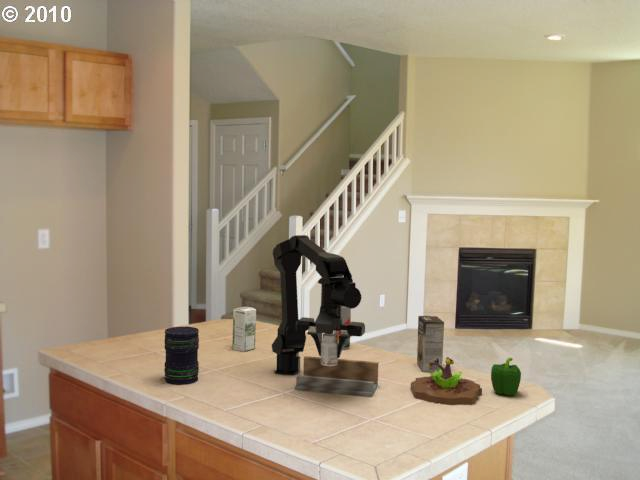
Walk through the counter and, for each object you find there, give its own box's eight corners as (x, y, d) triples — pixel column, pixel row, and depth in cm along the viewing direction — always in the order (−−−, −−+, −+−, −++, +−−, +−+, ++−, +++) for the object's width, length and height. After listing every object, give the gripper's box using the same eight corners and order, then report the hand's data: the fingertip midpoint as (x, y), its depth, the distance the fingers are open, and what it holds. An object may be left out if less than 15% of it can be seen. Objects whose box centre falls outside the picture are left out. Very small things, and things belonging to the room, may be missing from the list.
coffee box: (416, 364, 224) (417, 315, 222) (435, 364, 224) (437, 315, 223) (422, 372, 215) (424, 321, 213) (442, 372, 215) (444, 321, 214)
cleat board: (294, 389, 194) (295, 365, 193) (304, 379, 204) (305, 356, 204) (371, 397, 189) (372, 372, 188) (377, 385, 199) (378, 362, 199)
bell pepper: (504, 399, 189) (506, 364, 188) (484, 391, 197) (486, 356, 196) (527, 395, 193) (529, 361, 192) (506, 387, 200) (508, 354, 200)
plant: (407, 402, 186) (408, 362, 185) (412, 381, 205) (413, 345, 204) (483, 408, 182) (485, 367, 181) (480, 387, 201) (482, 349, 200)
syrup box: (243, 346, 242) (243, 306, 241) (255, 349, 239) (256, 308, 237) (232, 349, 237) (232, 308, 236) (244, 352, 234) (245, 310, 233)
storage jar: (205, 378, 203) (205, 328, 201) (185, 387, 194) (185, 335, 193) (177, 373, 207) (178, 325, 206) (157, 382, 198) (157, 331, 197)
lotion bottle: (348, 350, 240) (349, 293, 238) (332, 349, 241) (333, 292, 239) (350, 346, 246) (352, 291, 244) (335, 345, 247) (336, 290, 245)
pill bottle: (339, 363, 193) (341, 333, 192) (334, 367, 188) (335, 337, 187) (324, 360, 194) (325, 331, 194) (318, 365, 190) (319, 335, 189)
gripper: (290, 304, 184) (288, 361, 186) (358, 310, 179) (356, 368, 181) (302, 297, 195) (300, 351, 197) (366, 302, 190) (364, 357, 192)
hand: (329, 356), depth 191 cm, fingers closed on pill bottle, 5 cm apart
